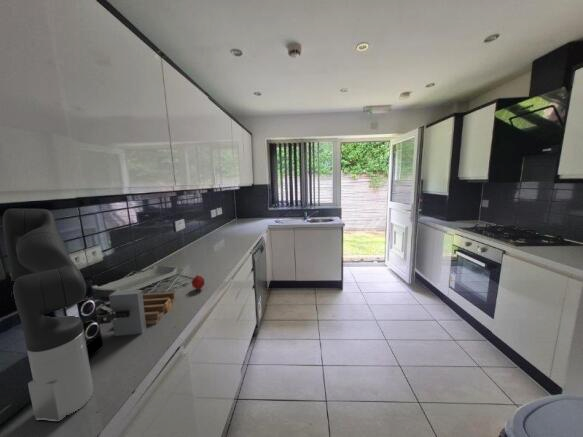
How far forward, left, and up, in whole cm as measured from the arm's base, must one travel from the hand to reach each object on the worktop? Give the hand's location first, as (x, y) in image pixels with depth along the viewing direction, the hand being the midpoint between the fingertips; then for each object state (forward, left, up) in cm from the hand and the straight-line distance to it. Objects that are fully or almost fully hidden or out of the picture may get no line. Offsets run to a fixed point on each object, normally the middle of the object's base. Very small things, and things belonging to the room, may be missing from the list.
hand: (134, 308), depth 81 cm
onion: (+33, -6, -9) cm, 35 cm away
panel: (0, +2, -9) cm, 9 cm away
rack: (+13, +5, -9) cm, 17 cm away
